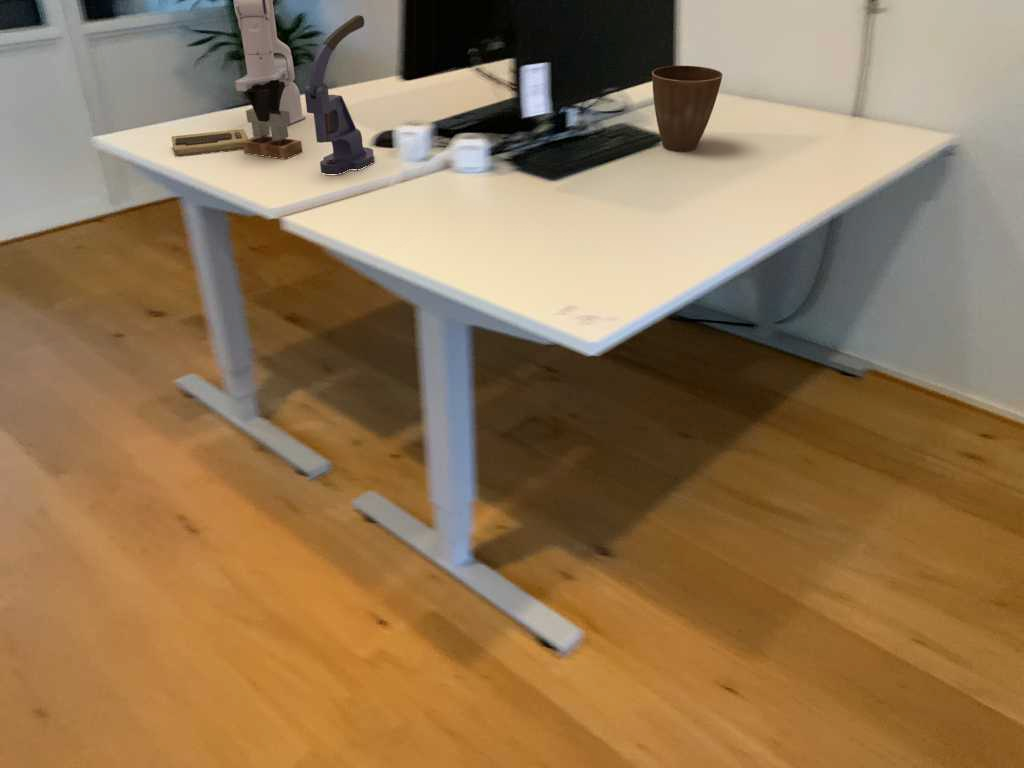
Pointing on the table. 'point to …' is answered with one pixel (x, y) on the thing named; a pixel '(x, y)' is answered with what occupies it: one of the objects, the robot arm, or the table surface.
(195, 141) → the beige retro keyboard
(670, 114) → the plant pot
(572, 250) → the table surface
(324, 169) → the hand press
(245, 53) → the robot arm
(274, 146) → the rectangular frame with crossbar
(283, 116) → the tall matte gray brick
